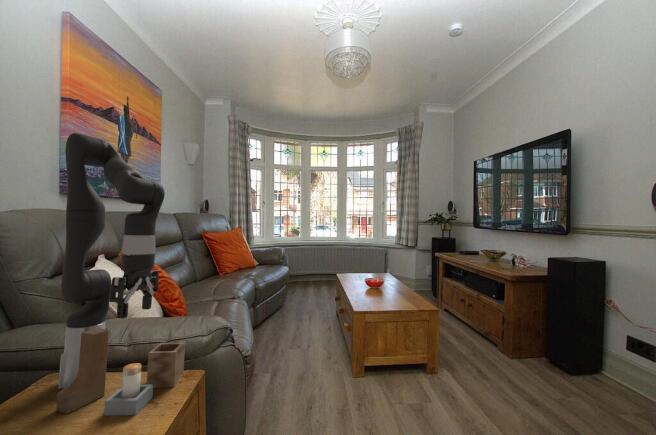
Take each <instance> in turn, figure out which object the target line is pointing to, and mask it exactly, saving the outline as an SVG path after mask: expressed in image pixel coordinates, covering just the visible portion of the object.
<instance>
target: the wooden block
mask: <svg viewBox="0 0 656 435" xmlns="http://www.w3.org/2000/svg"><path fill="white" fill-rule="evenodd" d="M109 331H110V330H109V329H106V328H105V329H101V328H96V329H92V330H89V331H85V332H82V333H81V344H80V358H79V370H78V373H77V376H76V379H75V380H74V381H73V382H72V383H71V385H70V386H68V387H67V388H65V389H60V391H58V392H57V395H56V404H55V405H56V407H55V408H56V411H58V412H60V413H63V414H67V415H68V414H70V413H72V412H74V411H76V410H78V409H80V408H82V407H84V406H86V405H88V404H90V403H92V402H94V401H96V400H98V399H101V398H102V397H104V396H105V393H106V379H107V366H108V365H107V364H108V362H107V360H108V359H107V358H108V348H109V346H108V345H109Z"/></svg>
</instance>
